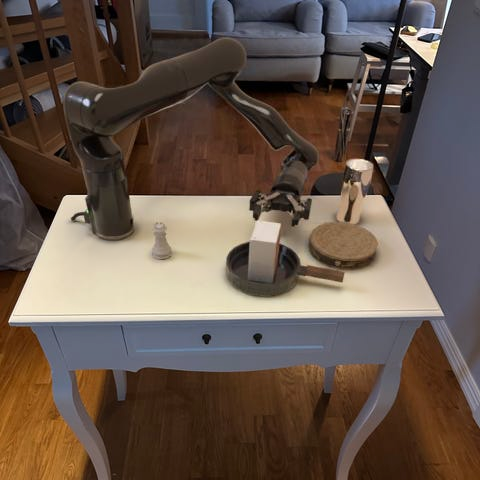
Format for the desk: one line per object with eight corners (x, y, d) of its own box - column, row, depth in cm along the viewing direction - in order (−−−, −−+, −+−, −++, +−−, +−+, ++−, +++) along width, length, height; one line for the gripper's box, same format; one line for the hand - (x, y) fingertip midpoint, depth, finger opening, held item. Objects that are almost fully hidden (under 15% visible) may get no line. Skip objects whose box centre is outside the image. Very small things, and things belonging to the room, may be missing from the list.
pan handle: (296, 274, 97) (297, 268, 96) (298, 268, 98) (299, 262, 97) (342, 283, 95) (343, 277, 94) (343, 276, 97) (344, 271, 95)
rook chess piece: (175, 252, 106) (173, 222, 100) (165, 262, 103) (162, 232, 97) (159, 247, 107) (156, 217, 101) (148, 257, 104) (144, 226, 98)
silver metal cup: (334, 211, 122) (344, 157, 111) (360, 213, 121) (373, 159, 111) (334, 224, 117) (345, 169, 106) (361, 227, 116) (375, 171, 106)
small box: (272, 284, 97) (276, 243, 90) (247, 280, 98) (249, 239, 90) (277, 263, 103) (282, 222, 96) (253, 259, 103) (256, 219, 96)
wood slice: (311, 228, 115) (313, 217, 113) (374, 236, 113) (377, 226, 111) (305, 264, 104) (307, 253, 101) (375, 274, 102) (378, 263, 99)
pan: (216, 288, 96) (216, 275, 94) (237, 247, 108) (237, 235, 105) (291, 303, 93) (293, 290, 91) (304, 260, 105) (306, 247, 102)
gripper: (314, 206, 114) (303, 240, 102) (259, 197, 116) (243, 229, 105) (318, 178, 109) (307, 210, 97) (261, 169, 111) (244, 200, 100)
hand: (274, 220), depth 101 cm, fingers open, 8 cm apart
